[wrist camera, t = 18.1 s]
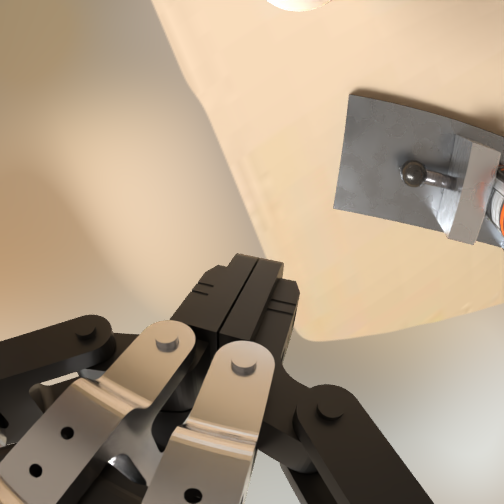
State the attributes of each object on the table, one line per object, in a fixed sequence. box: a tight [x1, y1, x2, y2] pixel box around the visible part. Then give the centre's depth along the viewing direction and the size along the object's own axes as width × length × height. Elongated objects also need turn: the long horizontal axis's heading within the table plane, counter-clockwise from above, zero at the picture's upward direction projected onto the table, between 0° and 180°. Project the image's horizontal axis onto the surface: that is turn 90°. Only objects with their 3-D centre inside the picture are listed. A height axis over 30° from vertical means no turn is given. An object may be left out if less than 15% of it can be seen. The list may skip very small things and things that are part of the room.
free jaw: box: [400, 134, 501, 245], centre depth 25 cm, size 9×9×5 cm
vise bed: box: [333, 95, 504, 250], centre depth 26 cm, size 24×12×6 cm, turn 87°
